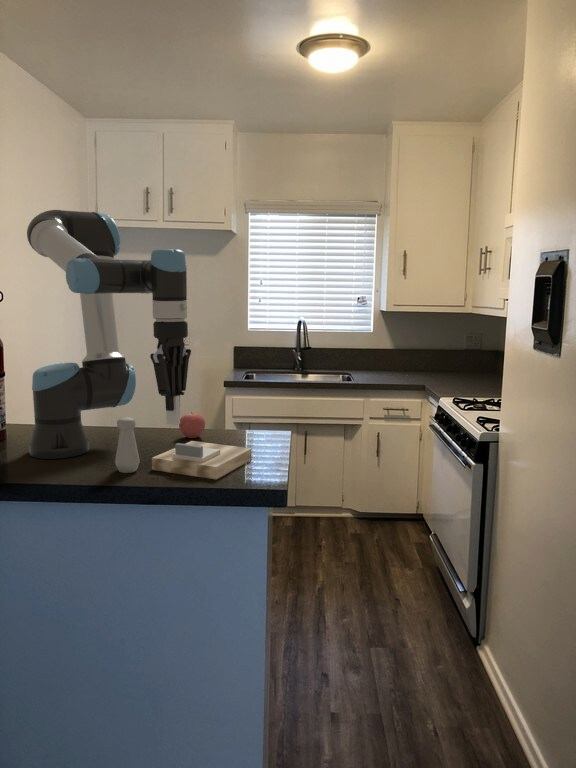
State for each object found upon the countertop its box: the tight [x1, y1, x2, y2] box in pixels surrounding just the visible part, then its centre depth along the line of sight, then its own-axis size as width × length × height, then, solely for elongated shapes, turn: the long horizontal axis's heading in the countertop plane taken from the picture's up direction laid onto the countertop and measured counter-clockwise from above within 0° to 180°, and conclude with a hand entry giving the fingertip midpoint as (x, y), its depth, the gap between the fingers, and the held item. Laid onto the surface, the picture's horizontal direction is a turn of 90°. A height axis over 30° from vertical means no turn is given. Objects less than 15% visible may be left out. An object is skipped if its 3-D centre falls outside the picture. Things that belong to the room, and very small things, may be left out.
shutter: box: [172, 442, 220, 462], centre depth 154 cm, size 8×8×4 cm
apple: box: [178, 411, 206, 439], centre depth 183 cm, size 7×7×8 cm
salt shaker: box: [114, 416, 141, 474], centre depth 151 cm, size 6×6×13 cm
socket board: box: [151, 440, 252, 480], centre depth 157 cm, size 18×18×3 cm
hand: (173, 423), depth 143 cm, fingers closed
